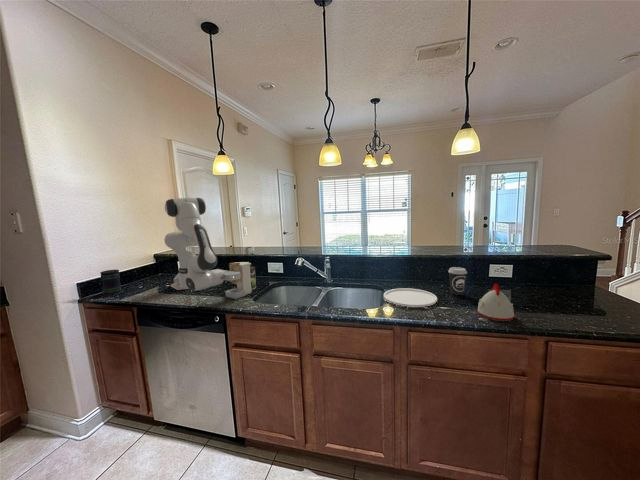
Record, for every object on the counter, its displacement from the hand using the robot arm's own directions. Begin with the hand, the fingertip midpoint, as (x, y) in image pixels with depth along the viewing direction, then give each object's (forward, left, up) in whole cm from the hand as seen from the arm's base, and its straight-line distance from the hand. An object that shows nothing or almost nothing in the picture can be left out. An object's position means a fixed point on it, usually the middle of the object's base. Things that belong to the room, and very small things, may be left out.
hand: (236, 271), depth 160 cm
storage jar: (-81, -36, -15) cm, 90 cm away
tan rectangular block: (0, -1, -6) cm, 7 cm away
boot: (0, +1, -15) cm, 15 cm away
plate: (+92, +41, -15) cm, 102 cm away
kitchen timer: (+132, +37, -15) cm, 138 cm away
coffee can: (-6, +14, -15) cm, 21 cm away
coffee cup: (+114, +62, -15) cm, 131 cm away
